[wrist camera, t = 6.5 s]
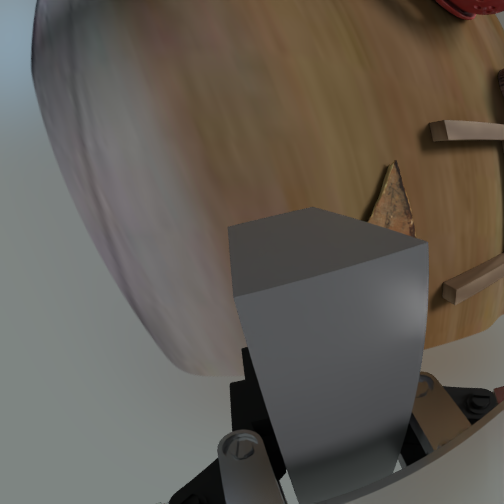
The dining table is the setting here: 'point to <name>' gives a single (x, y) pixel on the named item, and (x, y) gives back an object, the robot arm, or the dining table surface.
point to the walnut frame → (498, 265)
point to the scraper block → (332, 341)
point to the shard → (393, 204)
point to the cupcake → (501, 80)
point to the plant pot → (472, 7)
